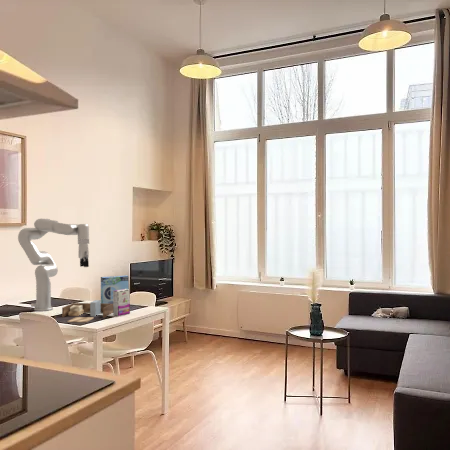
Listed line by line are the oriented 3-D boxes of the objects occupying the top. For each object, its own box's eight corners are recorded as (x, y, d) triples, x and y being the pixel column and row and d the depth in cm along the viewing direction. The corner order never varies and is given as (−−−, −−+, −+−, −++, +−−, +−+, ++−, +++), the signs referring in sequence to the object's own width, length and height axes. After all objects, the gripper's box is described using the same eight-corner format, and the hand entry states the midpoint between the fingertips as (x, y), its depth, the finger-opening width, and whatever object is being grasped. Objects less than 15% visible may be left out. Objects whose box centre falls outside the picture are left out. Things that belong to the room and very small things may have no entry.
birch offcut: (70, 311, 304) (70, 307, 304) (73, 309, 312) (73, 305, 312) (79, 311, 305) (79, 307, 305) (82, 309, 313) (82, 305, 313)
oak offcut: (68, 316, 304) (68, 311, 304) (73, 313, 313) (73, 309, 313) (78, 316, 304) (78, 312, 304) (83, 314, 313) (83, 309, 313)
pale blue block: (90, 316, 303) (90, 302, 303) (95, 313, 313) (95, 300, 313) (95, 316, 302) (95, 302, 302) (100, 313, 312) (100, 300, 312)
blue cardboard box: (126, 306, 341) (126, 275, 341) (128, 307, 336) (129, 275, 336) (100, 308, 330) (100, 276, 330) (102, 310, 326) (102, 277, 326)
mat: (67, 322, 284) (67, 321, 284) (75, 317, 297) (75, 317, 297) (86, 322, 283) (86, 321, 283) (93, 318, 296) (93, 317, 296)
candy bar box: (124, 312, 314) (124, 288, 315) (130, 313, 312) (130, 289, 312) (112, 315, 305) (112, 290, 305) (118, 316, 302) (118, 291, 302)
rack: (62, 316, 300) (62, 307, 300) (73, 311, 318) (73, 303, 318) (104, 317, 298) (104, 308, 298) (113, 312, 316) (113, 303, 316)
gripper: (74, 242, 324) (75, 266, 324) (81, 242, 310) (81, 267, 309) (85, 241, 328) (86, 265, 328) (92, 241, 314) (93, 266, 313)
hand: (84, 266), depth 319 cm, fingers open, 9 cm apart
